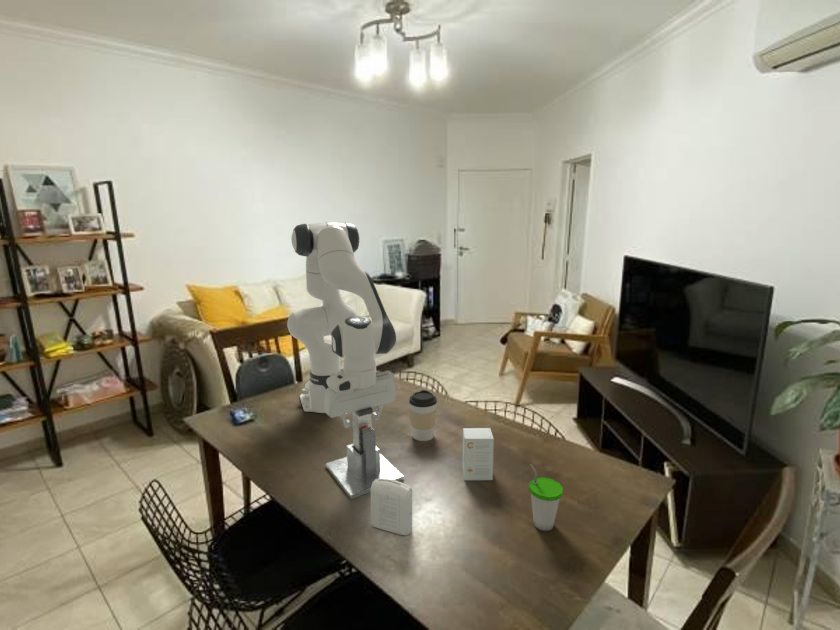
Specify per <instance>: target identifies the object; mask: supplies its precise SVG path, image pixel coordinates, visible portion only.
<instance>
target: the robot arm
mask: <svg viewBox="0 0 840 630" xmlns="http://www.w3.org/2000/svg"><path fill="white" fill-rule="evenodd" d="M290 239H291V245H292V248H293V251H294V252H295V253H296V254H297V255H298V256H301V257H306V259H305V260H306V261H305V275H306V278H305V280H306V291H307V293H308V294H309V295H310V296H311V297H313V298H315V299H318V300H319V301H320V300H321V301H322V306H316V307H307V308H301V309H299V310H295V311H293V312H291V313H290V315H289V316H288V318H287V323H286V327H287V329H288V332H289V334H290V335H291V336H292V337H293V338H295V339H296V340H298V341H299V342H300V343H302V344H303V345H304V346H305V348H306V350H307V353H308V357H309V362H310V363H309V364H310V372H309V380H308V381H307V382H306V383H305V385H304V388H302V389H301V394H300V395H299V400H300V402H301V405H302V409H303V411H304V412H307V413H308V412H311V413H317V414H319V413H320V414H326V415H327V416H328V417H329V418H331V419H333V418H337V417H339V418H340V419H341V420H342V422H343V428H345V429H348V428H352V420H350V419H349V418H347V417H348V415H347V414H352V412H356V411H358V410H362V409H366V408H370V407H371V408H374V407H376V408H375V410H374V412H373V413H371V419H372V420H374V421H377V420H380V419H381V418H380V417H381V416H380V414H381V413H382V410H383V409H384V405H386V404H389V403H393V402H394V401H395V400H396V388H395V383H394V382H395V374H394V373H393V371H390V370H387V369H386V370H384V371H378V372H377V363H376V360H375V355H382V354H383V355H385V354H388V353H389V352H390V351H392V349H394V347H395V345H396V343H397V334H396V330H395V327H394V325H393V323H392V322H391V320H390V318H389V316H388V315H387V312H386V309H385V307H384V305H383V302H382V299H381V298H380V295H379V292H378V290H377V289H376V285H375V284H374V281H373V279H372V277H371V275H370V274H369V273H368V272H366V271H364V270H363V269H362V268H361V267H360V266H359V264H358V263H357V261H356V259H355V255H354V253H356V251H358V249H359V245H360V242H361V241H360V240H361V239H360V232H359V230H358V227H357V226H355V224H353V223H349V222H344V223H342V222H331V221H330V222H329V221H327V222H326V221H325V222H315V223H302V224H301V223H300V224H298V225H296V226H295V227H294V228H293V231H292V234H291V238H290ZM340 290H341V291H346V292H349V293H351V294H355V295H356V296H358V297H360V298H361V299H362V300H363V302H364V305H365V307H366V310H367V312H368V314H369V317H370V318H369V317H366V316H361V315H357V312H356V310H355V308H353V306H351V305H349V304H348V303H347V302H346V301H345V300H344V299H343V297H342V295H341V293H340ZM327 336H331V343H328V342H325V337H327ZM341 358H343V359H344V361H343V366H342V368H341Z"/></svg>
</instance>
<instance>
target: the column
mask: <svg viewBox="0 0 840 630" xmlns="http://www.w3.org/2000/svg"><path fill="white" fill-rule="evenodd" d="M373 411H374V410H373V407H370V408H366V409H362V410H358V411H356V412H352V413H351V418H352V420H351V424H352V438H353V439H352V440H353V442H352V444H353V445H354V450H355V451H356V452H357V453H358V454H360V453H363V432H362V429H364V428H367V427H371V428H373V427H372V426H373V425H372V423H373V422H372V420H373V419H372V413H373Z"/></svg>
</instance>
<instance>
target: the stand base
mask: <svg viewBox="0 0 840 630" xmlns="http://www.w3.org/2000/svg"><path fill="white" fill-rule="evenodd" d="M362 432H363V453H360V454H358V453H357V452H356V451H355V450H354V445H353V443H351V444H348V445H346V456H345V457H342V458H339V459H335V460H332V461H329V462H326V463H325V468H326V469H327V470H328V471H329V472H330V475H332V477H333V478H334V479H335V481H336V482H337V483H338V484H339V486H340V487H341V489H342V490H343V491H344V492H345V493H346V495H347V496H348V497H349V499H350V500H354V499H355V498H359V497H361V496H363V495H367V494H369V493H370V494H371V485H372V482H373V481H374V480H375V479H391V480H395V481H399V482H402V481H404V480H405V479H404V478H405V476H404V475H403V474H402V472H400V471H399V470H398V469H397V467H395V466H394V465H393V464H392V463H391V462H390V461H389V460H388V459H387V458H385V456H384V455H383V454H382V453H380V448H379V447H378V446H377V445H376V444H377V443H376V429H374V428H373V427H372V428H371V427H367V428H364V429H362Z"/></svg>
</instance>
